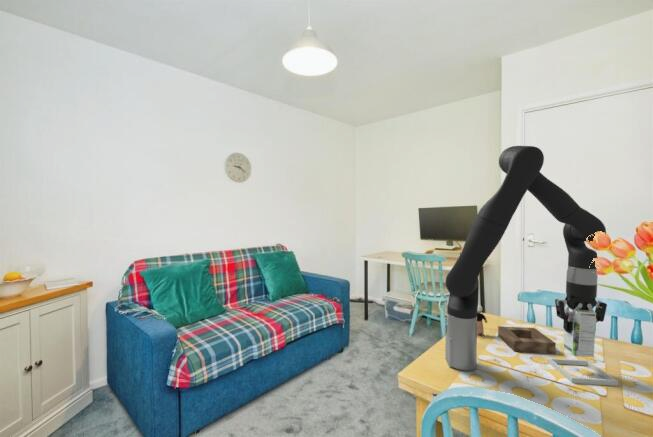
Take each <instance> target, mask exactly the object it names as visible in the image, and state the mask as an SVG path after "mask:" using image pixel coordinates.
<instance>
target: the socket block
mask: <svg viewBox="0 0 653 437" xmlns="http://www.w3.org/2000/svg"><path fill="white" fill-rule="evenodd" d="M497 336H498V338H500V339H501V340H502V341H503V342H504V343H505V344H506V345H507V346H508V347H509V348H510V349H511V350H512V351H513V352H515V353H517V352H518V353H530V354H531V353H532V354H533V353H534V354H548V355H550V354H551V355H556V352H557V351H556V346H557V345H556V342H555V341H553V340H552V339H551V338H549V337H548V336H547V335H545V334H544V333H542V332H540V331H539V330H538V329H537V328H535V327H520V326H519V327H518V326H516V327H515V326H500V325H499V326H497Z"/></svg>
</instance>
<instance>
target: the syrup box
mask: <svg viewBox="0 0 653 437" xmlns="http://www.w3.org/2000/svg"><path fill="white" fill-rule="evenodd" d="M567 306H568V305H566V306H565V309H566V308H567ZM569 311H570V312H572V311H573V310H572V309H570V308H569ZM593 311H594V310H593ZM593 311H588V310H575V314H574V316H573V319H572V321H571V322H572V333H568V332H566V331H565V330H564V329H563V331H564V333H563V349H564V350H566V351H567V352H569V353H570V354H571V355H572V356H574V357H585V358H586V357H588V358H589V357H590V358H594V356H595V355H594V354H595V342H596V341H595V337H596V331H595V325H596V326H597V323H596V312H595V311H594V312H593Z"/></svg>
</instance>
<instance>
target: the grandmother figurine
mask: <svg viewBox="0 0 653 437" xmlns="http://www.w3.org/2000/svg"><path fill="white" fill-rule="evenodd" d="M482 311H483V307H482V305H480V304H478V308H477V337H480V336H482V337H484V336H485V334H484V323H485V324H488V320H487V318H486V316H485V314H483V313H482ZM483 322H484V323H483Z"/></svg>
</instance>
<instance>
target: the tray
mask: <svg viewBox="0 0 653 437" xmlns="http://www.w3.org/2000/svg"><path fill="white" fill-rule="evenodd" d="M547 363H548V364H549V365H551V366H552V367H553V369H555V370H556V371H557V372H559V373H560V374H561V375H562V376H563V377H564V378H566V379H567V380H568V381H569V382H570V383H571V384H580V385H583V384H584V385H595V386H596V385H597V386H599V385H600V386H612V387H618V386H619V380H617V379H616V378H614V377H613V376H611V375H609V373H607V372H606V371H604V370H602V369H601V368H599V367H598V366H597V365H595V364H594V363H592V362H591V361H589V360H587V359H570V358H556V357H555V358H554V357H548V358H547ZM561 365H569V366H570V365H571V366H585V367H586V366H587V367H588V368H590V369H591V370H592V371H593V372H595V373H597V375H600V376H601V377H602V378H595V377H594V378H593V377H578V376H573V375H571V374H570V373H569V372H567V370H565V369H564V368H563V367H561Z"/></svg>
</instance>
